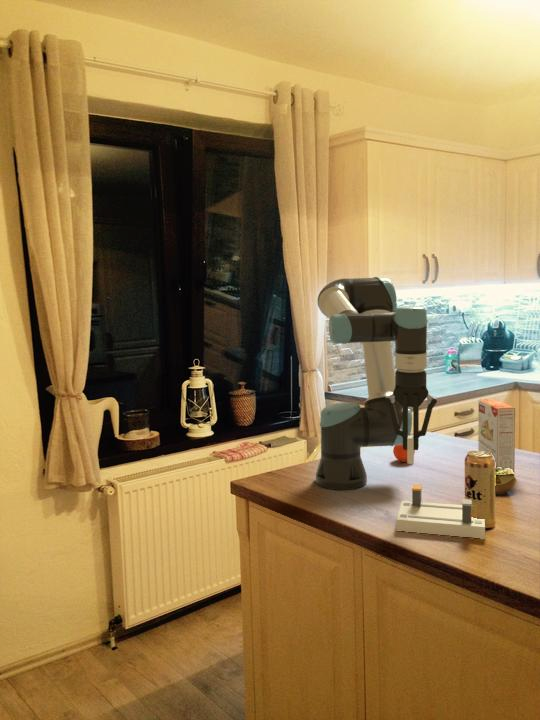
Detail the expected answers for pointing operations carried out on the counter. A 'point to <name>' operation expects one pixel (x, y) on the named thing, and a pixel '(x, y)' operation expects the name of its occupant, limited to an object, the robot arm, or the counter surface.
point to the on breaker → (466, 510)
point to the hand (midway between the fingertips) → (410, 462)
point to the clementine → (400, 453)
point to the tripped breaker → (416, 495)
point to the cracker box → (497, 431)
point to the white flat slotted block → (438, 520)
